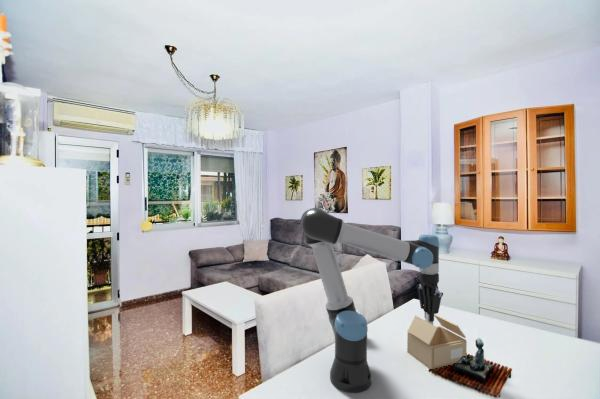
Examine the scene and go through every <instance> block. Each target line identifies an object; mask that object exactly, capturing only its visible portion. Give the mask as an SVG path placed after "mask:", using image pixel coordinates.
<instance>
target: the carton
mask: <svg viewBox="0 0 600 399" xmlns="http://www.w3.org/2000/svg"><path fill="white" fill-rule="evenodd" d="M435 326H436V327H437V328H438V329H437V331H436V333H435V335H434V337H433V340H432V342H431V344H430V345H429V344H427V343H425V342H424V341H422V340H421V339H419V338H418V337H416V336H415V335H413V334H411V333H410V332H408V331H407V341H406V343H407V348H406V350H407V352H406V353H408V354H409V355H410V356H412V357H413V358H414V359H415V360H417V361H418V362H420V363H421V364H422V365H423V366H425V367H426V368H428V369H429V370H430V369H434V370H436V369H435V368H438V369H440V368H439V367H442V368H444V367H443V366H447V367H449V366H448V365H451V366H454V365H453V364H454V363H456V362H457V361H458V360H459V359H460V358H461V357H462V356H466V357H467V345H468V344H467V339H466V338H464V337H462V336H460V335H458V334H456V333H454V332H452V331H451V330H449V329H447V328H445V327H443V326H441V325H439V326H437V325H435Z"/></svg>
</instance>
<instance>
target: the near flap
mask: <svg viewBox="0 0 600 399" xmlns="http://www.w3.org/2000/svg"><path fill="white" fill-rule="evenodd" d="M436 326H437V325H434V324H433V325H432V324H430V323H428V322H427V321H425V320H424V319H423V318H421V317H420V316H417V315H414V316H413V320H412V321H411V323H410V325H409V327H408V329H407V333H408V332H410V333H411V334H413V335H415V336H416V337H418V338H419V339H421V340H422V341H424V342H425V343H427V344H429V345H430V344H431V342H432V340H433V337H434V335H435V333H436V331H437V329H438V328H437V327H436Z"/></svg>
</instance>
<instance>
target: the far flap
mask: <svg viewBox="0 0 600 399" xmlns="http://www.w3.org/2000/svg"><path fill="white" fill-rule="evenodd" d="M434 318H435V319H436V320H437V321H438V323H439V324H440V326H441V327H443V328H445V329H446V330H448V331H450V332H452V333H454V334H456V335H458V336H459V337H461V338H463V339H466V338H467V336H466V335H465V333H464V332H463V331H462V329H461V328H460V327H459V326H458V324H456V323H455V322H452V321H450V320H448V319H447V318H444V317H442V316H440V315H438V314H434Z"/></svg>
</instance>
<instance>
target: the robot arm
mask: <svg viewBox="0 0 600 399" xmlns="http://www.w3.org/2000/svg"><path fill="white" fill-rule="evenodd" d="M300 217H301V218H300V227H301V229H302V231H303V235H304V238H305V242H306V244H307V245H308V246H309V247H311V249H312V252H313V256H314V260H315V263H316V266H317V269H318V272H319V276H320V279H321V283H322V287H323V290H324V293H325V296H326V299H327V302H326V303H325V309H326V312H327V315H328V320H329V323H330V325H331V327H332V328H331V329H332V331H333V336H334V345H335V346H334V358H333V360H332V361H333V362H332V364H331V365H332V366H331V368H330V370H329V380H330V382H331V384H332V385H333V386H334V387H336V388H337V389H339V390H341V391H343V392H347V393H361V392H364V391H366V390H368V389H369V388H370V387H371V386H372V373H371V370H370V366H369V363H368V328H369V327H368V321H367V319H366V317H365V316H364V315H363V314H361V313H360V314H358V312H356V309H357V308H356V306H355V303H354V300H353V298H352V297H351V296H349V294H348V292H347V289H346V285H345V282H344V279H343V275H342V272H341V268H340V265H339V260H338V258H337V255H336V251H335V248H334V245H337V244H339V243H340V244H341V245H346V246H350V247H353V248H356V249H360V250H364V251H366V252H370V253H371V254H376V255H380V256H382V257H386V258H390V259H392V260H396V261H398V262H403V263H406V264H409V265H413V266H415V267H416V268H418V270H419V277H418V278H419V279H418V280H419V281H420V283H419V284H416V286H415V287H416V289H417V294H418V300H419V304H420V305H419V306H420V309H422V310H423V312H424V319H425V321H427V322H428V323H430V324H432V325H434V322H435V316H434V314H436V315H438V314H439V310H440V306H441V300H442V297H443V296H444V293H443V292H441V291H440V290H439V286H438V284H439V282H440V274H439V272H440V271H439V270H440V269H439V268H440V266H439V265H440V261H439V259H440V258H439V257H440V256H439V254H440V252H439V250H440V243H439V238H438V236H437V235H434V234H420V235H419V237H418V239H415V240H402V239H398V238H395V237H391V236H390V235H389V236H388V235H385V234H381V233H378V232H375V231H372V230H370V229H365V228H363V227H359V226H355V225H353V224H349V223H345V222H344V219H342V218H339V217H336V216H334V215H331V214H329V213H328V212H326V211H324V209H321V208H320V207H319V208H318V207H313V208H308V209H306V210H305V211H304V212H303V213H302V215H301V216H300ZM333 244H334V245H333ZM355 308H356V309H355Z"/></svg>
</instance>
